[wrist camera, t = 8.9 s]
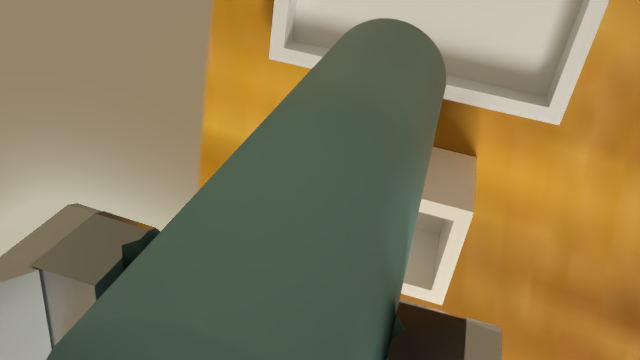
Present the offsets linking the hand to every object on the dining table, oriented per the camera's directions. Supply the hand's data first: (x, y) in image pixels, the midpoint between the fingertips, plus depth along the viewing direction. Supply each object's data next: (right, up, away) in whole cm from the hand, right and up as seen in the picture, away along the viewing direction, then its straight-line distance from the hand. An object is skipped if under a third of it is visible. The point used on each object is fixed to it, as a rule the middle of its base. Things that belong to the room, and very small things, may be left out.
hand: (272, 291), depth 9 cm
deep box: (+8, +1, +35) cm, 36 cm away
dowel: (+3, +5, +9) cm, 11 cm away
